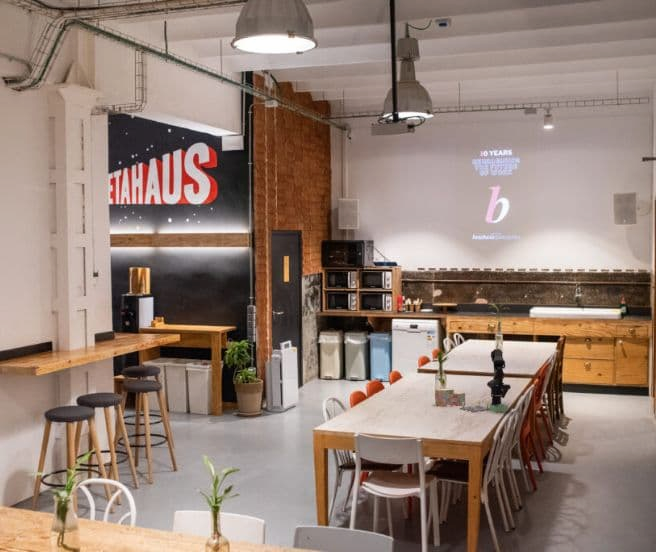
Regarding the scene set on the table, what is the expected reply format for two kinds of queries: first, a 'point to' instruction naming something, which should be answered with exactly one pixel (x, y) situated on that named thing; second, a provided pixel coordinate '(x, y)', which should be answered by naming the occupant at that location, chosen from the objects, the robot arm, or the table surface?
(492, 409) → the board
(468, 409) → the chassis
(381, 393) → the table surface
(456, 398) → the stack of blocks
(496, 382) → the robot arm
